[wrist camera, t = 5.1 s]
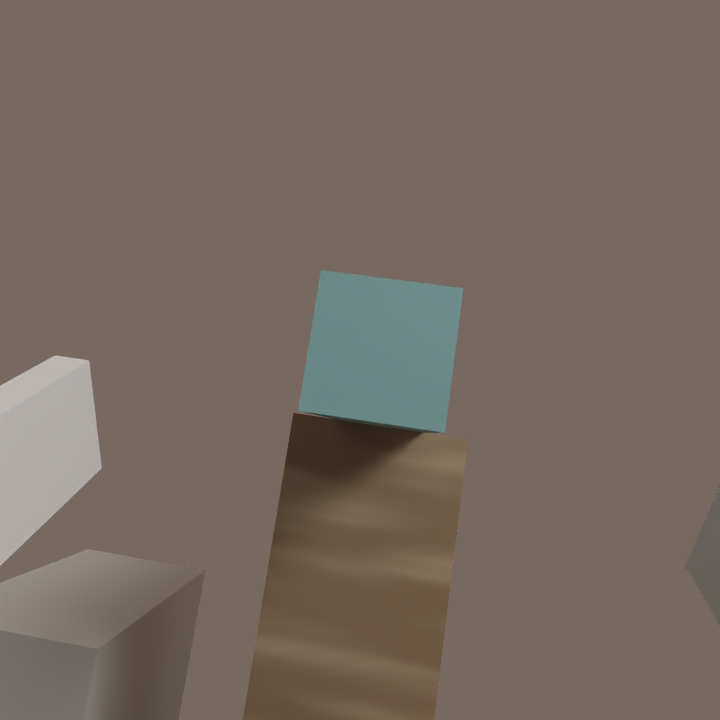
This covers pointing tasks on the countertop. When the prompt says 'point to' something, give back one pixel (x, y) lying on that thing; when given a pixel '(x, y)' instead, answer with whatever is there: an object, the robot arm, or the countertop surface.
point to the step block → (97, 639)
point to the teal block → (381, 352)
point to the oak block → (357, 574)
